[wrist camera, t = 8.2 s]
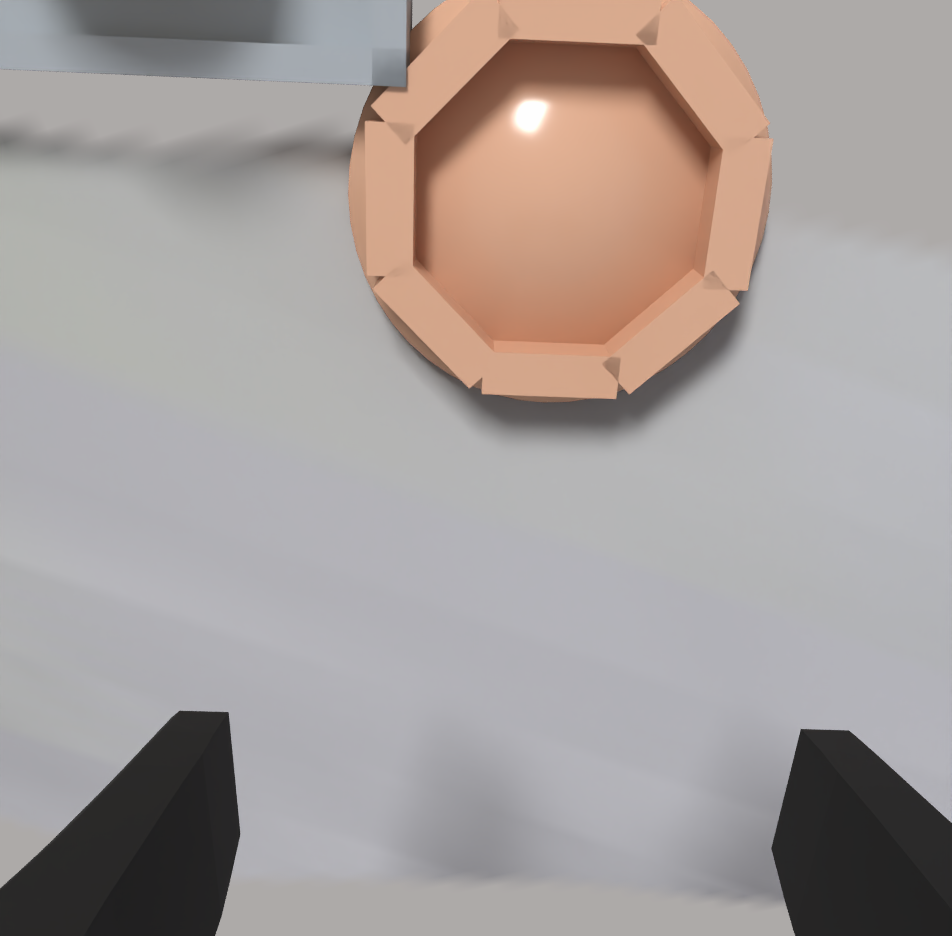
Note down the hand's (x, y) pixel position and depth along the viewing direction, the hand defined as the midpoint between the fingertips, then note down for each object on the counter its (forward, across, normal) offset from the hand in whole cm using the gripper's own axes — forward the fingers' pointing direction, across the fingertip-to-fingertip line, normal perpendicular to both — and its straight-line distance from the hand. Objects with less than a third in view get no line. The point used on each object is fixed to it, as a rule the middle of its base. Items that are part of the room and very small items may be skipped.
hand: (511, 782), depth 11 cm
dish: (+10, -1, -6) cm, 12 cm away
